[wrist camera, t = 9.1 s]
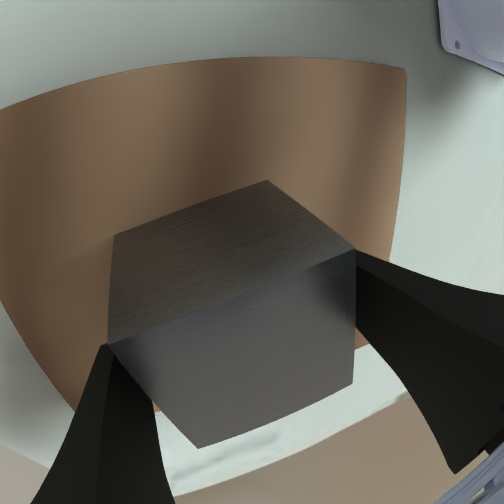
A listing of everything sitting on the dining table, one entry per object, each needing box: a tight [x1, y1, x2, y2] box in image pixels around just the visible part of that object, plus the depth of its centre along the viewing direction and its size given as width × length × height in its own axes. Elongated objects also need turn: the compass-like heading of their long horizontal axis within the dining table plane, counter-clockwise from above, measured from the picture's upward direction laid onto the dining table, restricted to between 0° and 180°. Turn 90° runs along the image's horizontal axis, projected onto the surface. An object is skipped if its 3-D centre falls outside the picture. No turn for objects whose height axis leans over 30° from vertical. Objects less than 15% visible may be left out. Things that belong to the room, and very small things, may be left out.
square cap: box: [107, 180, 356, 449], centre depth 10 cm, size 5×5×5 cm
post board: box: [0, 57, 406, 412], centre depth 11 cm, size 17×15×4 cm
